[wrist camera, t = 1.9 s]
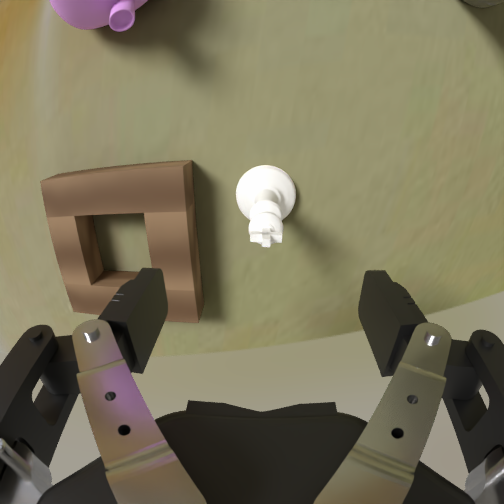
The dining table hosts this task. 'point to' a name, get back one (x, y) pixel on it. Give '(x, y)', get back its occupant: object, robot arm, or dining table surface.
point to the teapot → (98, 13)
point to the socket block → (119, 202)
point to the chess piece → (266, 202)
